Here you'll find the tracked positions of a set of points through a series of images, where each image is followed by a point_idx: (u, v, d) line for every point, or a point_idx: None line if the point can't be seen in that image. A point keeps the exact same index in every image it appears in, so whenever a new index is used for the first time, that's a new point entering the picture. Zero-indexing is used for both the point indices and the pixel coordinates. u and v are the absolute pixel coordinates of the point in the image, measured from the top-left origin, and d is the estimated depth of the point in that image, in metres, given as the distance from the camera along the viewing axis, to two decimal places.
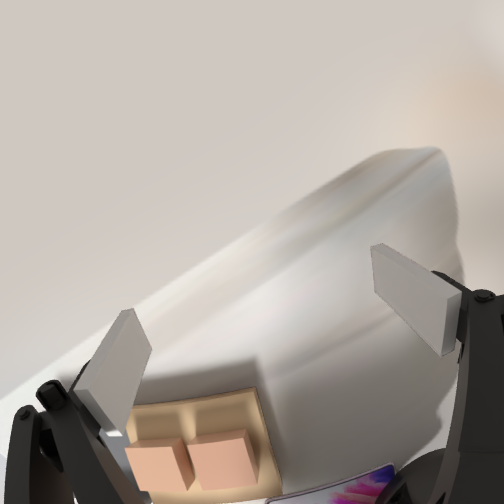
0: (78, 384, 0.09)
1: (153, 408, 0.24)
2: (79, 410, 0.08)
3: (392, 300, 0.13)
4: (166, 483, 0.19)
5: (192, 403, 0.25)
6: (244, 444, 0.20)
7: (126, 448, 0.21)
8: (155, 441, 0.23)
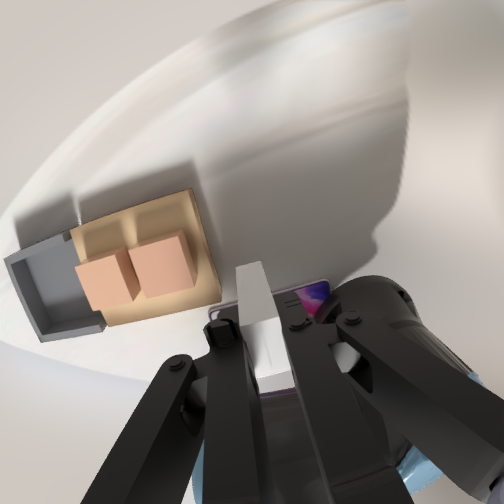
0: (242, 321, 0.11)
1: (97, 220, 0.27)
2: (247, 354, 0.10)
3: None
4: (114, 296, 0.26)
5: (132, 208, 0.27)
6: (179, 243, 0.26)
7: (76, 267, 0.25)
8: (101, 254, 0.27)
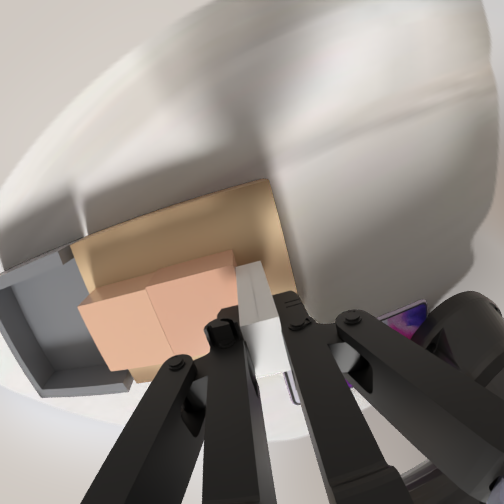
0: (242, 321, 0.11)
1: (115, 230, 0.17)
2: (247, 354, 0.10)
3: None
4: (145, 353, 0.16)
5: (174, 209, 0.17)
6: (234, 275, 0.16)
7: (80, 307, 0.15)
8: (120, 285, 0.17)
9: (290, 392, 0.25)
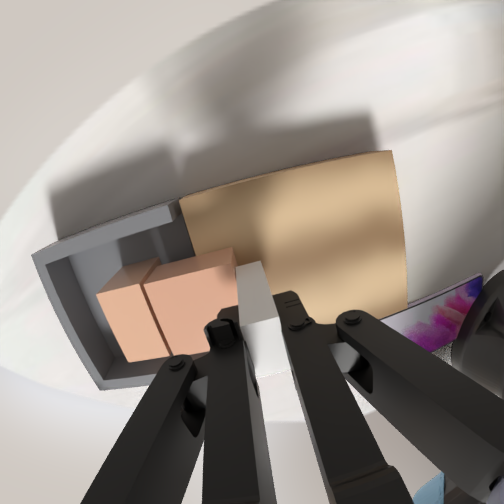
0: (242, 321, 0.11)
1: (242, 184, 0.17)
2: (247, 354, 0.10)
3: None
4: None
5: (310, 167, 0.17)
6: (233, 274, 0.15)
7: (123, 268, 0.20)
8: (137, 271, 0.18)
9: None
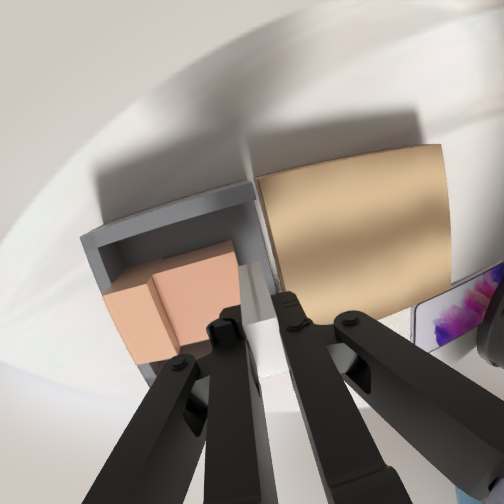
0: (245, 320, 0.11)
1: (321, 166, 0.17)
2: (249, 353, 0.10)
3: None
4: None
5: (378, 155, 0.17)
6: (236, 262, 0.17)
7: (126, 269, 0.20)
8: (143, 272, 0.18)
9: None
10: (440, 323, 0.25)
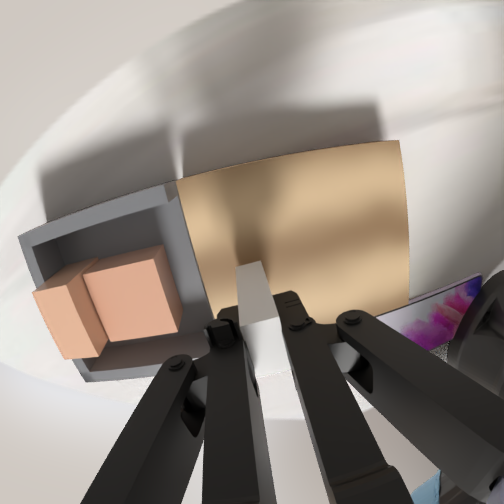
0: (242, 321, 0.11)
1: (244, 166, 0.16)
2: (247, 354, 0.10)
3: None
4: None
5: (315, 152, 0.16)
6: (156, 269, 0.16)
7: (66, 266, 0.19)
8: (73, 271, 0.16)
9: None
10: None
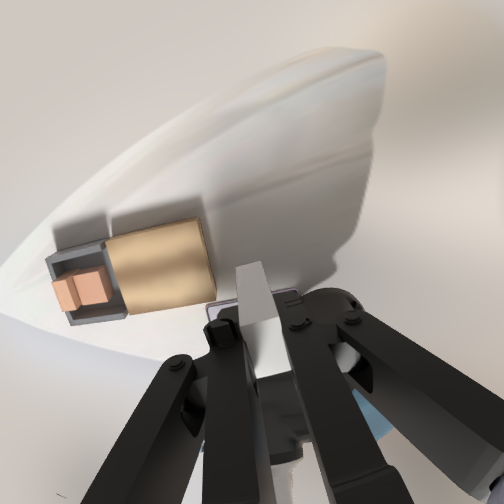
0: (242, 321, 0.11)
1: (128, 236, 0.39)
2: (247, 354, 0.10)
3: None
4: None
5: (155, 230, 0.39)
6: (99, 275, 0.39)
7: (65, 272, 0.41)
8: (68, 274, 0.39)
9: None
10: None
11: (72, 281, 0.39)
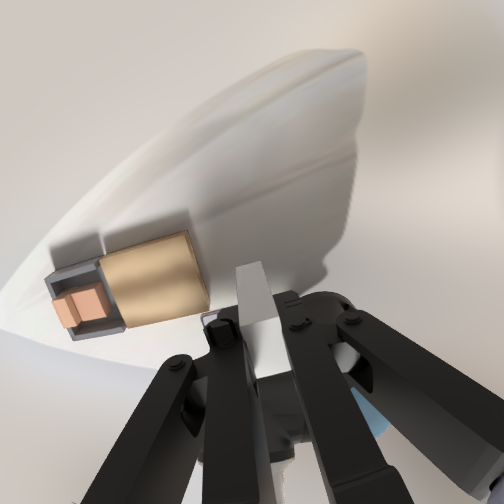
0: (242, 321, 0.11)
1: (120, 254, 0.40)
2: (247, 354, 0.10)
3: None
4: None
5: (145, 246, 0.40)
6: (95, 292, 0.40)
7: (65, 289, 0.43)
8: (67, 292, 0.40)
9: None
10: None
11: (71, 299, 0.40)
